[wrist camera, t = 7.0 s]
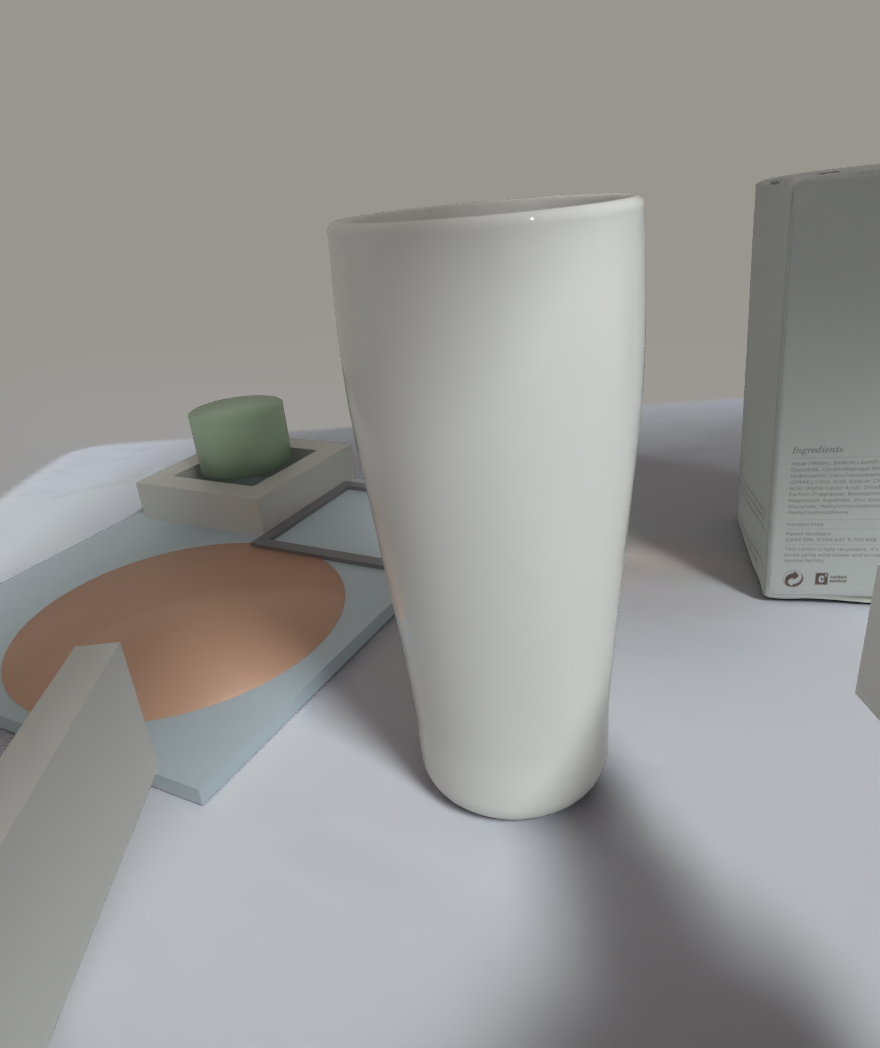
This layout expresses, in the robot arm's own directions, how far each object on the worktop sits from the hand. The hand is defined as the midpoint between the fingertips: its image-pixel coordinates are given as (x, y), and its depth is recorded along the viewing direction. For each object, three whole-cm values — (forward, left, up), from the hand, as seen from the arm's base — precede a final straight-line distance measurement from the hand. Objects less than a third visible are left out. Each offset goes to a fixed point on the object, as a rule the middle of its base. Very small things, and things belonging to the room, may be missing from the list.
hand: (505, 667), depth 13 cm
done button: (+23, -19, -5) cm, 30 cm away
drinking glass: (+3, -6, -8) cm, 10 cm away
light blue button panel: (+19, -12, -8) cm, 24 cm away
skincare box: (-4, -22, -8) cm, 23 cm away
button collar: (+23, -19, -7) cm, 30 cm away
